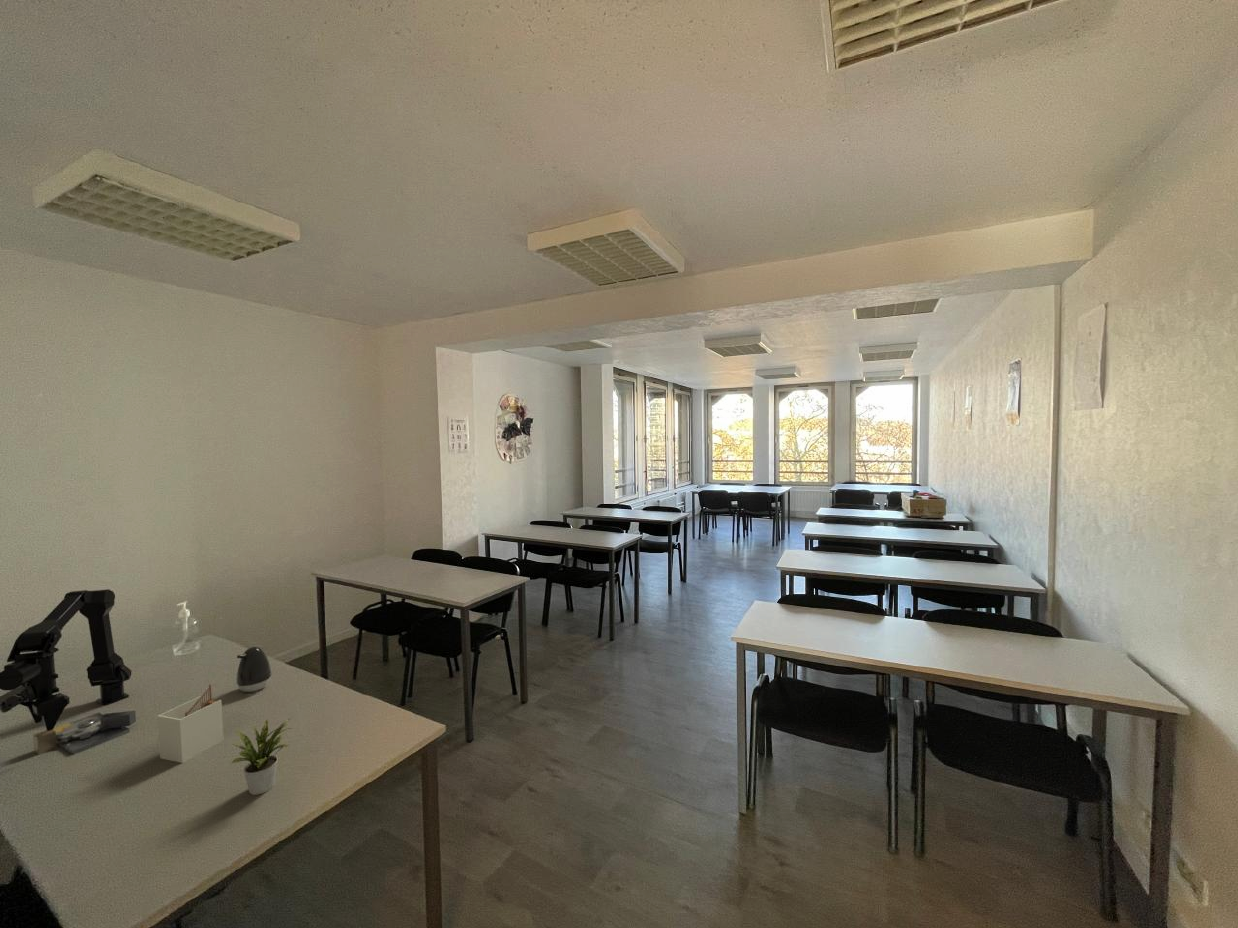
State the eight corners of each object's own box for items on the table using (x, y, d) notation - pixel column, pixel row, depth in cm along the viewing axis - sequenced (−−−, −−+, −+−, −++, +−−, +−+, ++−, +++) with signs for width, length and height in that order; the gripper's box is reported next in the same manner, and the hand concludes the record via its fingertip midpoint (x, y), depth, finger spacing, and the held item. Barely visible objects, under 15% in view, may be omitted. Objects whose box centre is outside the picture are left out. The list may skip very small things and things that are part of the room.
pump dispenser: (228, 693, 172) (226, 651, 171) (258, 680, 182) (256, 639, 181) (250, 697, 169) (247, 654, 168) (279, 683, 179) (276, 642, 178)
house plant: (304, 788, 124) (301, 725, 123) (235, 818, 114) (231, 750, 113) (292, 762, 134) (289, 704, 133) (227, 788, 124) (224, 726, 124)
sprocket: (42, 745, 142) (41, 732, 142) (79, 721, 154) (78, 709, 154) (117, 736, 146) (116, 723, 146) (147, 713, 158) (147, 701, 158)
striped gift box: (34, 751, 141) (32, 734, 141) (52, 744, 144) (50, 728, 144) (38, 754, 140) (37, 737, 139) (56, 747, 143) (55, 731, 143)
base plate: (44, 735, 149) (43, 731, 149) (99, 715, 160) (98, 712, 160) (73, 754, 139) (72, 750, 139) (129, 731, 150) (129, 728, 150)
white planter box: (224, 740, 145) (221, 686, 145) (182, 764, 135) (179, 705, 134) (202, 736, 148) (199, 682, 147) (160, 759, 137) (156, 701, 136)
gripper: (-16, 679, 138) (-11, 733, 139) (7, 693, 130) (12, 750, 130) (43, 663, 148) (47, 713, 149) (68, 675, 140) (72, 728, 140)
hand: (44, 726), depth 142 cm, fingers open, 9 cm apart
